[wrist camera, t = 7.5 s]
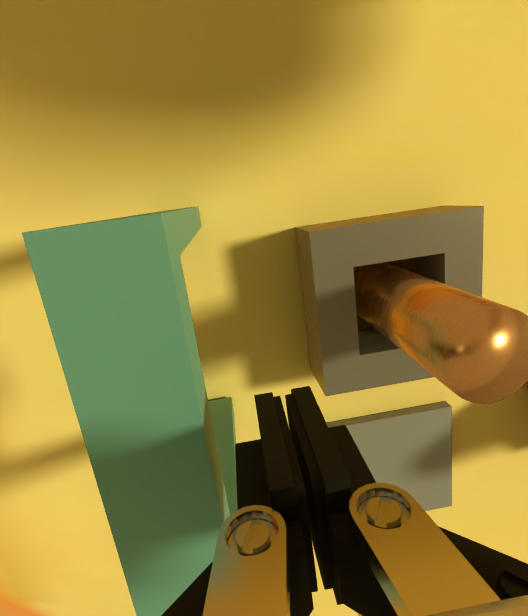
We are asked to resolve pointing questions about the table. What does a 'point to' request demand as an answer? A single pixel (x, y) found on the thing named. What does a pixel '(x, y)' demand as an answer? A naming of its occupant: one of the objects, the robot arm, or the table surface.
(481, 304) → the cylinder
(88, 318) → the green arch
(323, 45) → the table surface
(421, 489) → the mat
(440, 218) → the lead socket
